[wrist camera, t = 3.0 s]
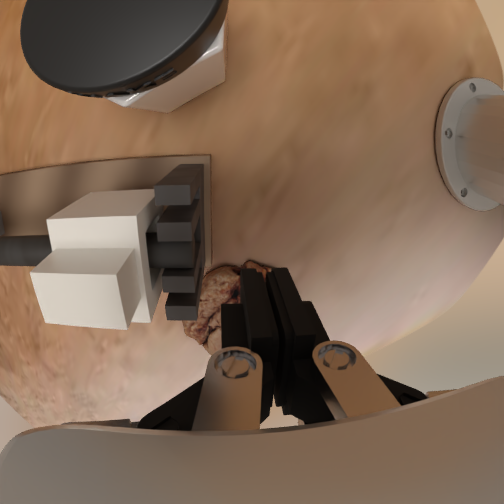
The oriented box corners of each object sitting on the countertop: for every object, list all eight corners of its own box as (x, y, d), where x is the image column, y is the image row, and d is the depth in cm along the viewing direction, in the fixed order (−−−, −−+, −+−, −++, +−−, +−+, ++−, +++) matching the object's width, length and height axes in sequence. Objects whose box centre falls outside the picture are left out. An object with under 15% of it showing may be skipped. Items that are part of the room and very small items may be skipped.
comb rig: (210, 154, 21) (197, 175, 12) (212, 259, 24) (204, 336, 15) (-13, 177, 19) (-84, 208, 10) (2, 258, 22) (-55, 309, 14)
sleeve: (162, 188, 16) (116, 236, 9) (168, 272, 18) (139, 356, 12) (90, 192, 16) (17, 239, 9) (102, 271, 18) (51, 347, 11)
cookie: (231, 371, 29) (231, 394, 26) (161, 297, 25) (154, 317, 22) (321, 326, 28) (329, 347, 25) (263, 235, 24) (267, 251, 21)
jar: (92, 80, 17) (-16, 60, 6) (151, -10, 15) (93, -95, 4) (193, 130, 20) (151, 138, 9) (256, 36, 17) (286, -47, 6)
